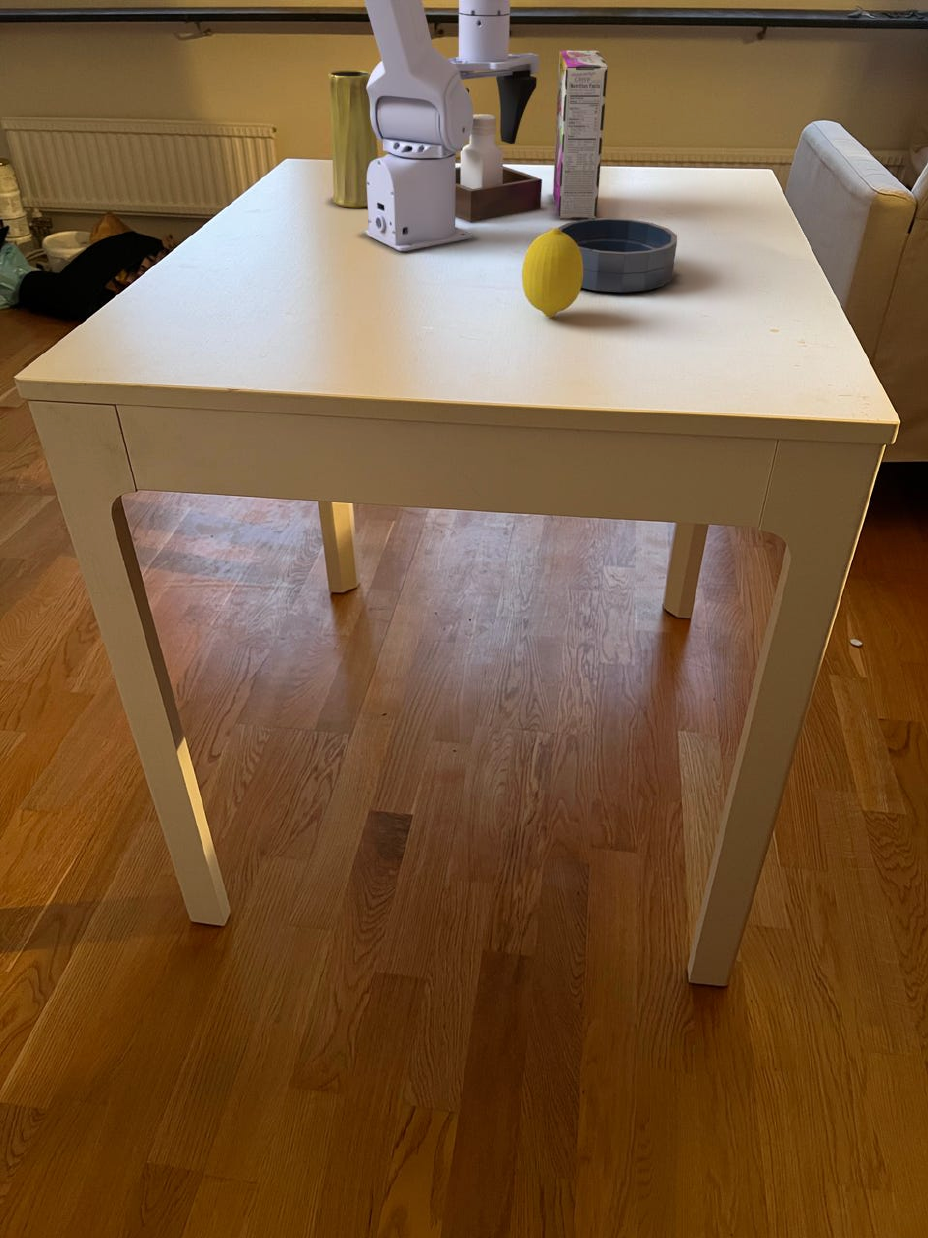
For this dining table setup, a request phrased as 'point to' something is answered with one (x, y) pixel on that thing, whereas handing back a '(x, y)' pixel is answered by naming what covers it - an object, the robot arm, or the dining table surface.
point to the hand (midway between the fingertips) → (482, 145)
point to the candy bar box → (579, 133)
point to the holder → (498, 197)
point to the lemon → (552, 272)
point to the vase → (351, 136)
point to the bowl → (623, 253)
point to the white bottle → (482, 155)
